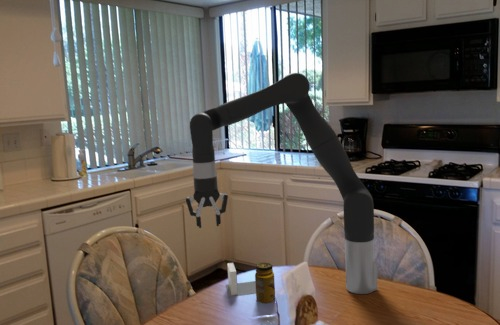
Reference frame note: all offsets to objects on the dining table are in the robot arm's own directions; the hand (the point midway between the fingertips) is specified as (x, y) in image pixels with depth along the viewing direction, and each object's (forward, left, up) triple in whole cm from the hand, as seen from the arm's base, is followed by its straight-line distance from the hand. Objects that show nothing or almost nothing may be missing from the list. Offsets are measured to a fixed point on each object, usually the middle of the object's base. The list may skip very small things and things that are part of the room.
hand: (208, 226), depth 151 cm
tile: (-7, 0, -23) cm, 24 cm away
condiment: (-15, +10, -24) cm, 30 cm away
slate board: (-11, 0, -23) cm, 26 cm away
